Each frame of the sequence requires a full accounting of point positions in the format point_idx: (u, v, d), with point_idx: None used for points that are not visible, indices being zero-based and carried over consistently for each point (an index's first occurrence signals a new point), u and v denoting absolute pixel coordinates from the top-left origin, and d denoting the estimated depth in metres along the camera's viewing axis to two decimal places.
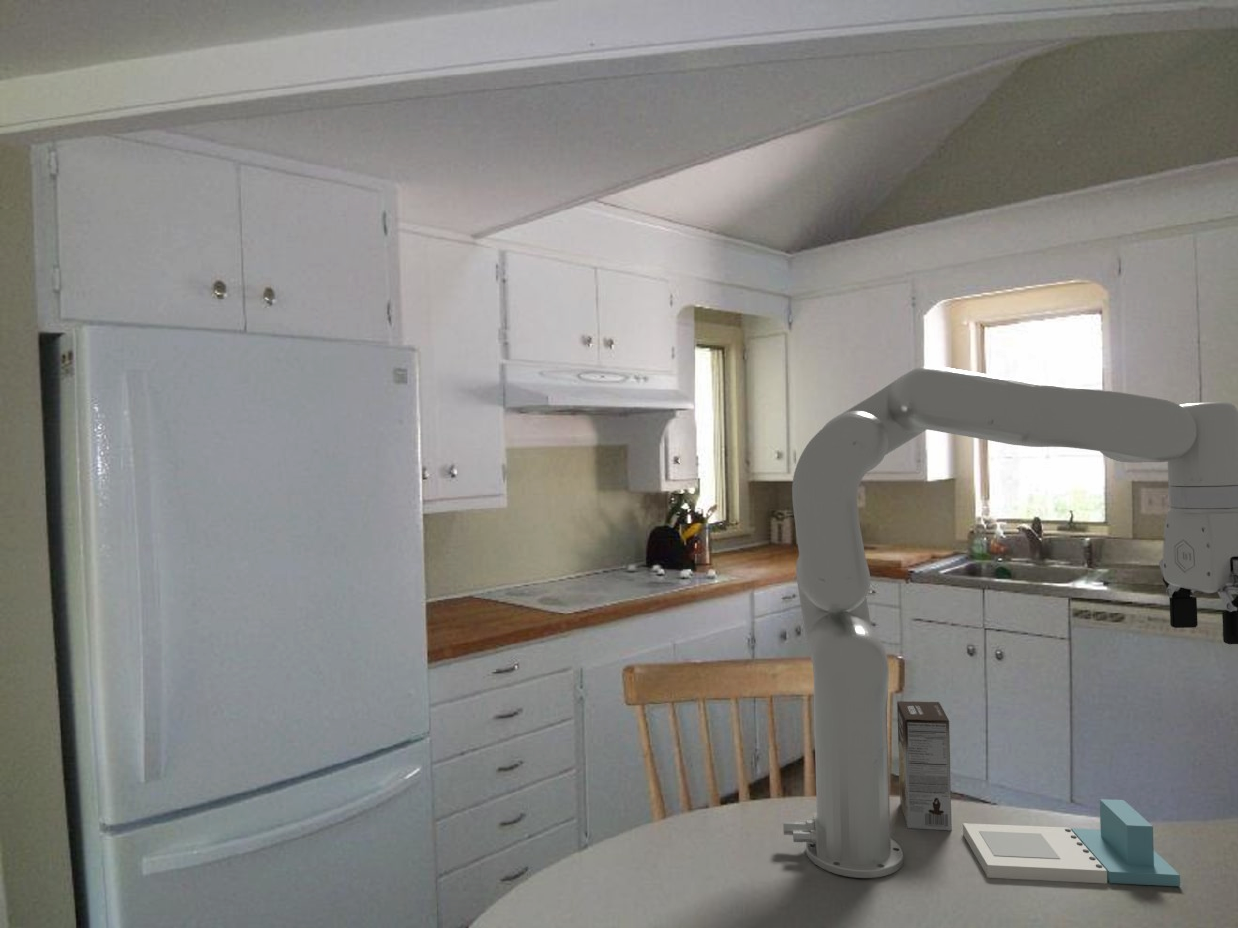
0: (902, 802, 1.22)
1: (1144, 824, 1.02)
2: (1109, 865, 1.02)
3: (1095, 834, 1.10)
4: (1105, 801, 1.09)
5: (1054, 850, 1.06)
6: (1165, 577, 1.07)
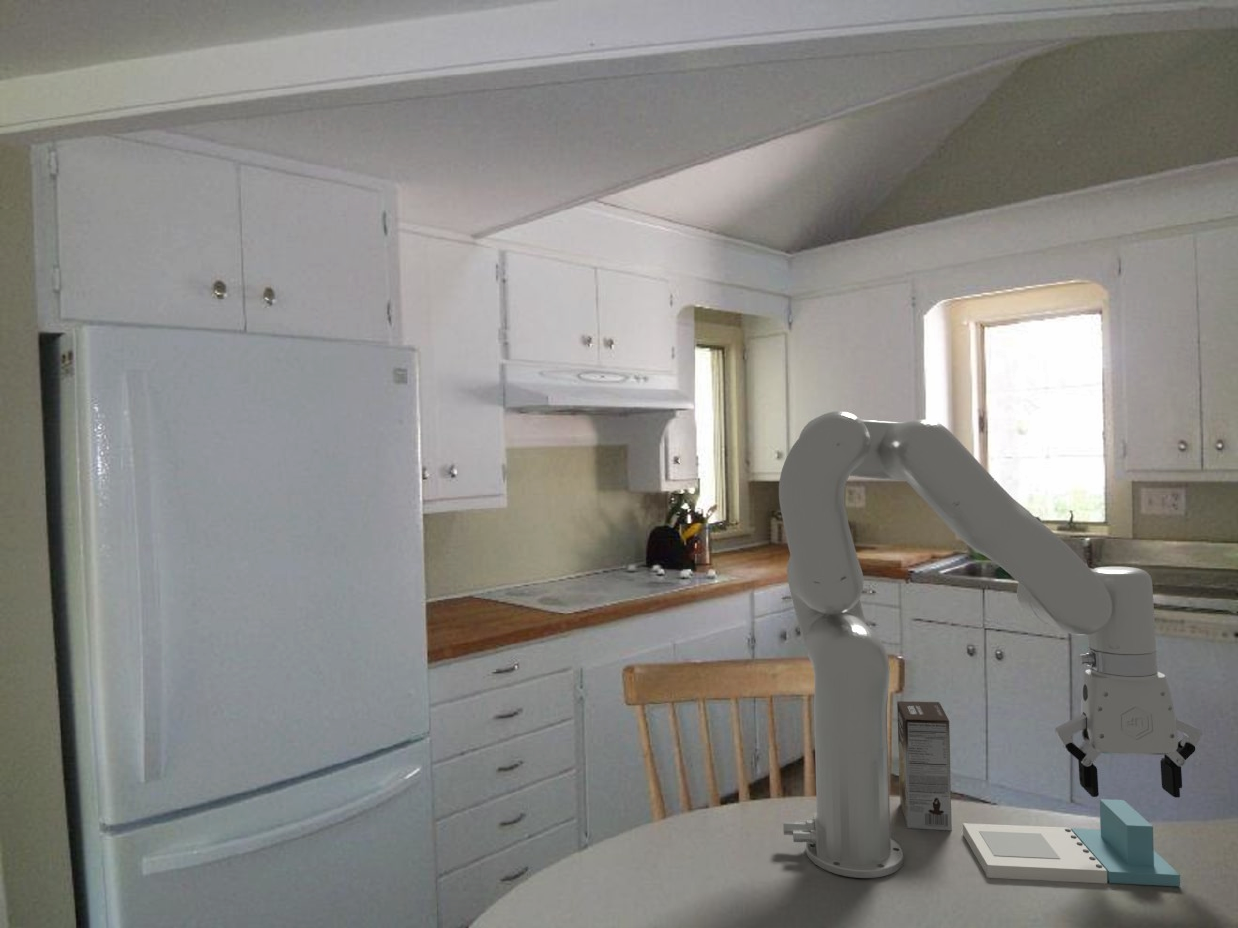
0: (902, 802, 1.22)
1: (1144, 824, 1.02)
2: (1109, 865, 1.02)
3: (1095, 834, 1.10)
4: (1105, 801, 1.09)
5: (1054, 850, 1.06)
6: (1103, 748, 1.04)
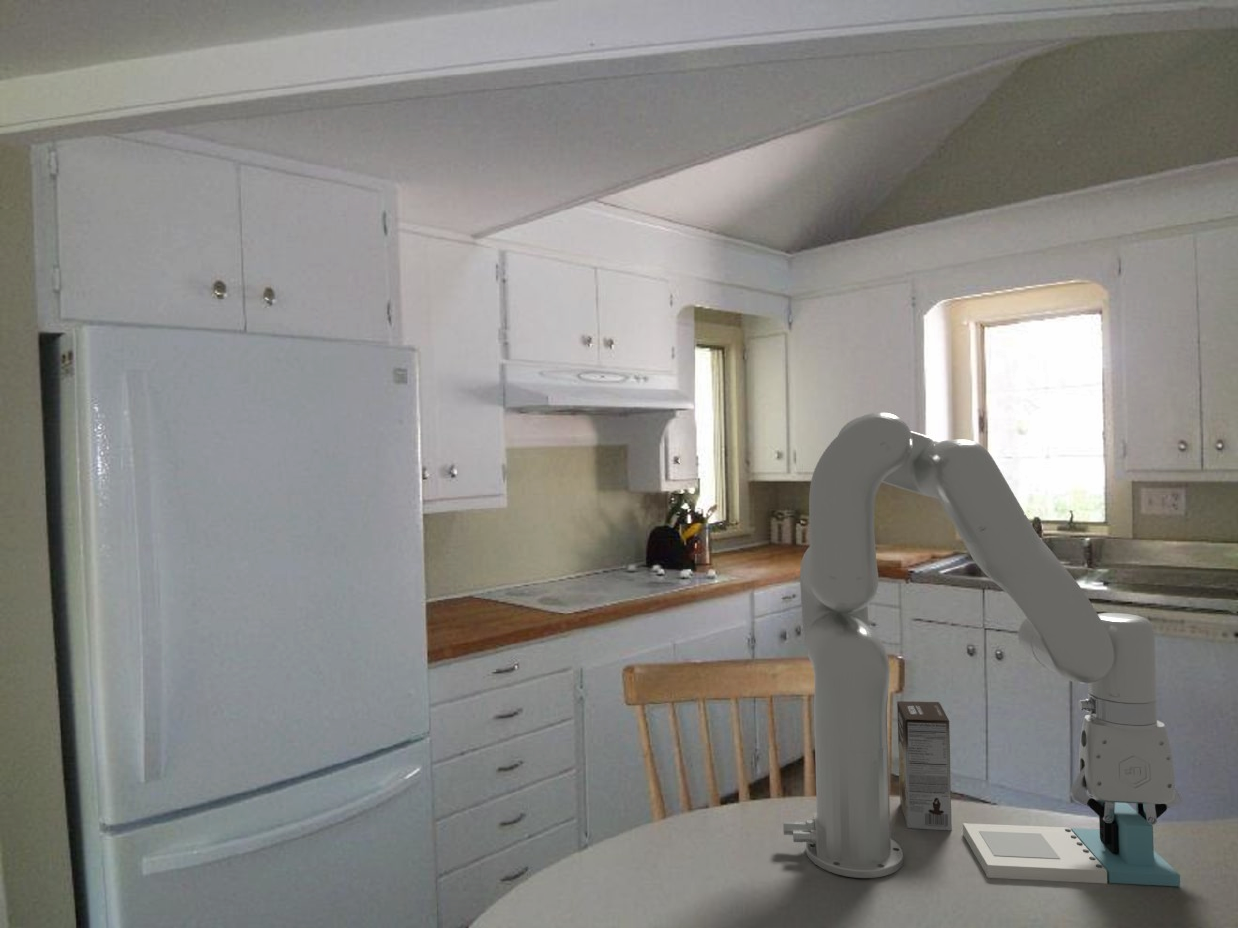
0: (902, 802, 1.22)
1: (1144, 824, 1.02)
2: (1109, 865, 1.02)
3: (1095, 834, 1.10)
4: None
5: (1054, 850, 1.06)
6: (1100, 795, 1.04)
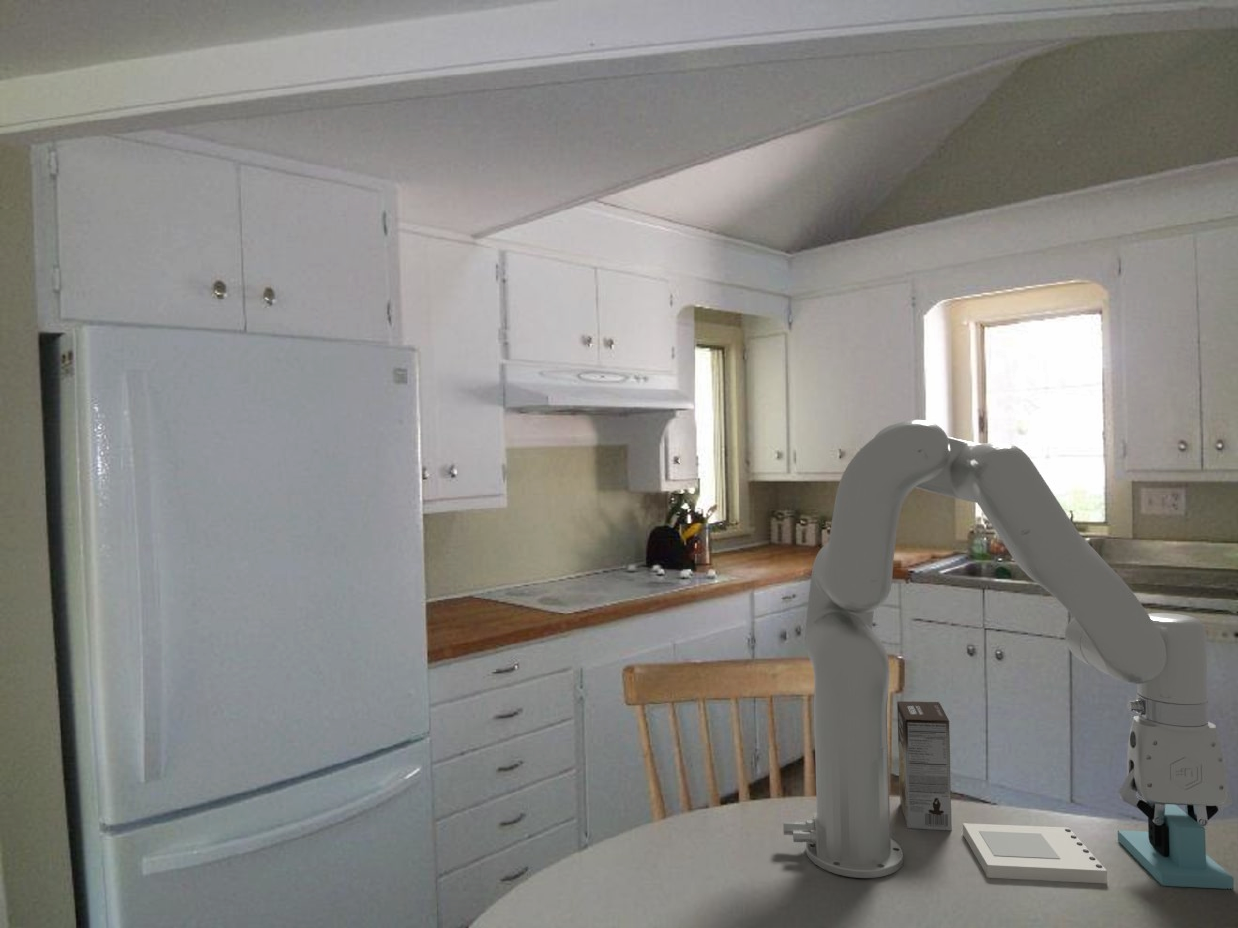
0: (902, 802, 1.22)
1: (1196, 826, 1.01)
2: (1160, 867, 1.01)
3: (1143, 836, 1.09)
4: None
5: (1054, 850, 1.06)
6: (1151, 797, 1.03)
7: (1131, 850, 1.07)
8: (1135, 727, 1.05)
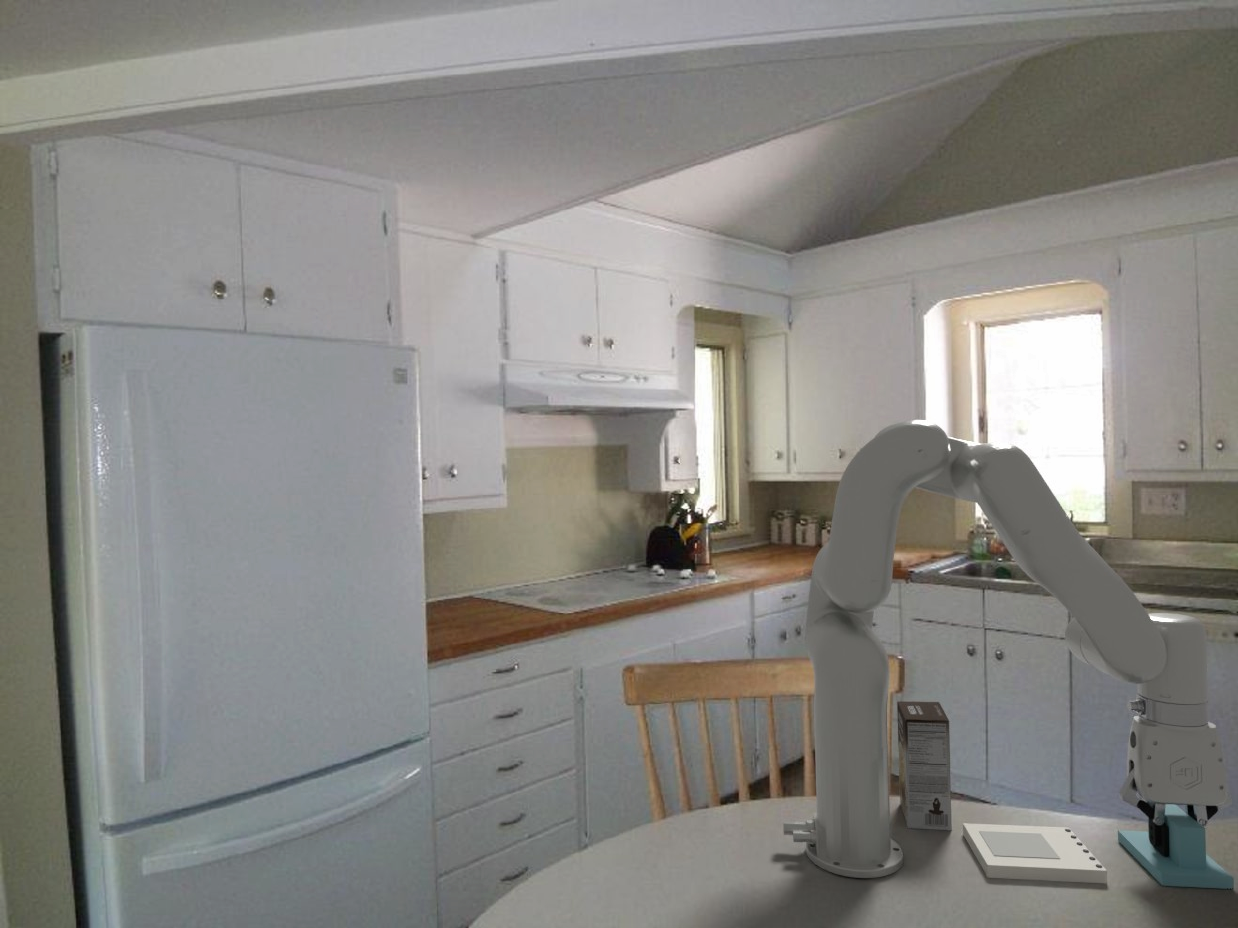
0: (902, 802, 1.22)
1: (1196, 826, 1.01)
2: (1160, 867, 1.01)
3: (1143, 836, 1.09)
4: None
5: (1054, 850, 1.06)
6: (1151, 797, 1.03)
7: (1132, 850, 1.07)
8: (1135, 727, 1.05)
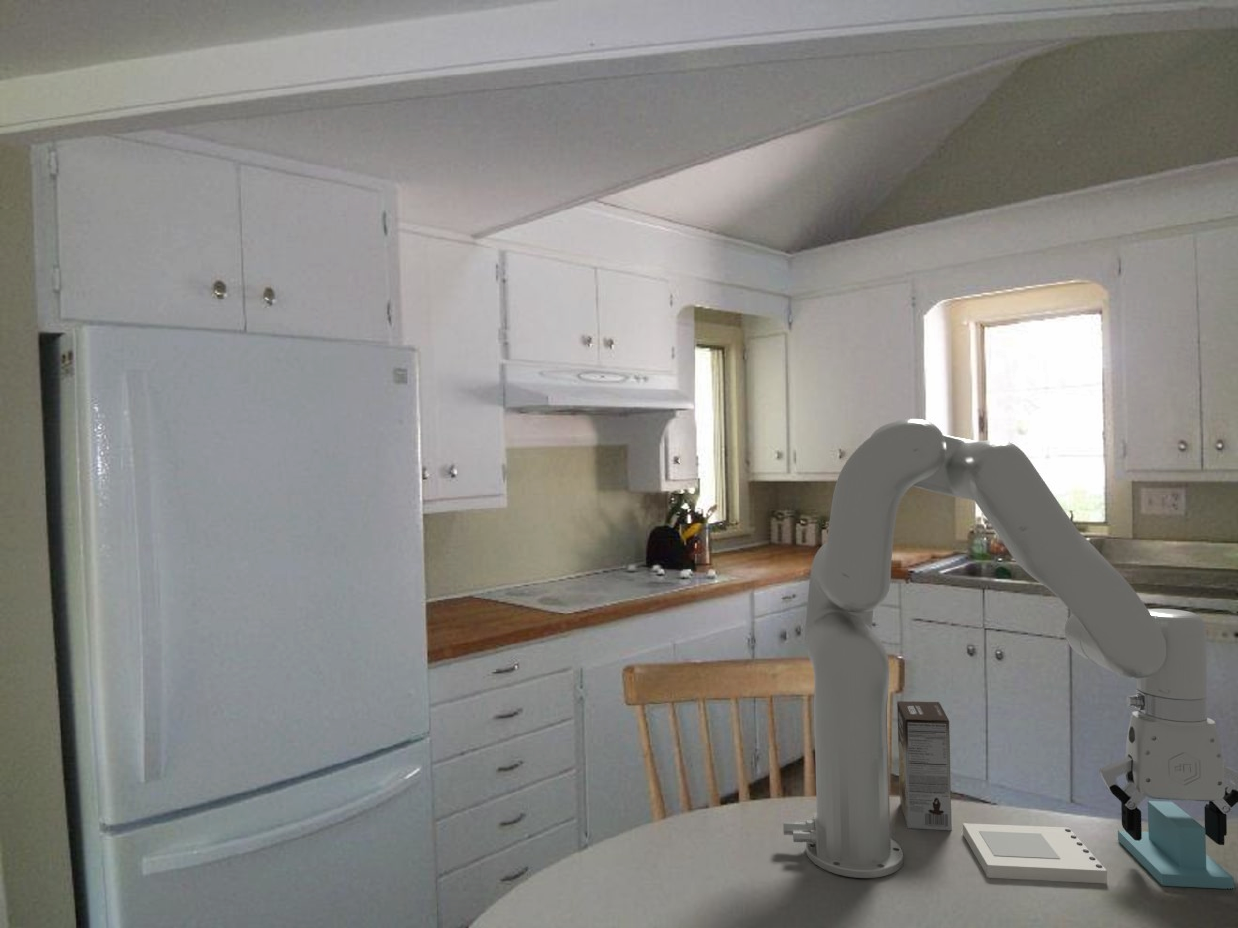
0: (902, 802, 1.22)
1: (1196, 826, 1.01)
2: (1160, 867, 1.01)
3: (1143, 836, 1.09)
4: (1153, 803, 1.08)
5: (1054, 850, 1.06)
6: (1149, 792, 1.03)
7: (1132, 850, 1.07)
8: (1134, 722, 1.05)
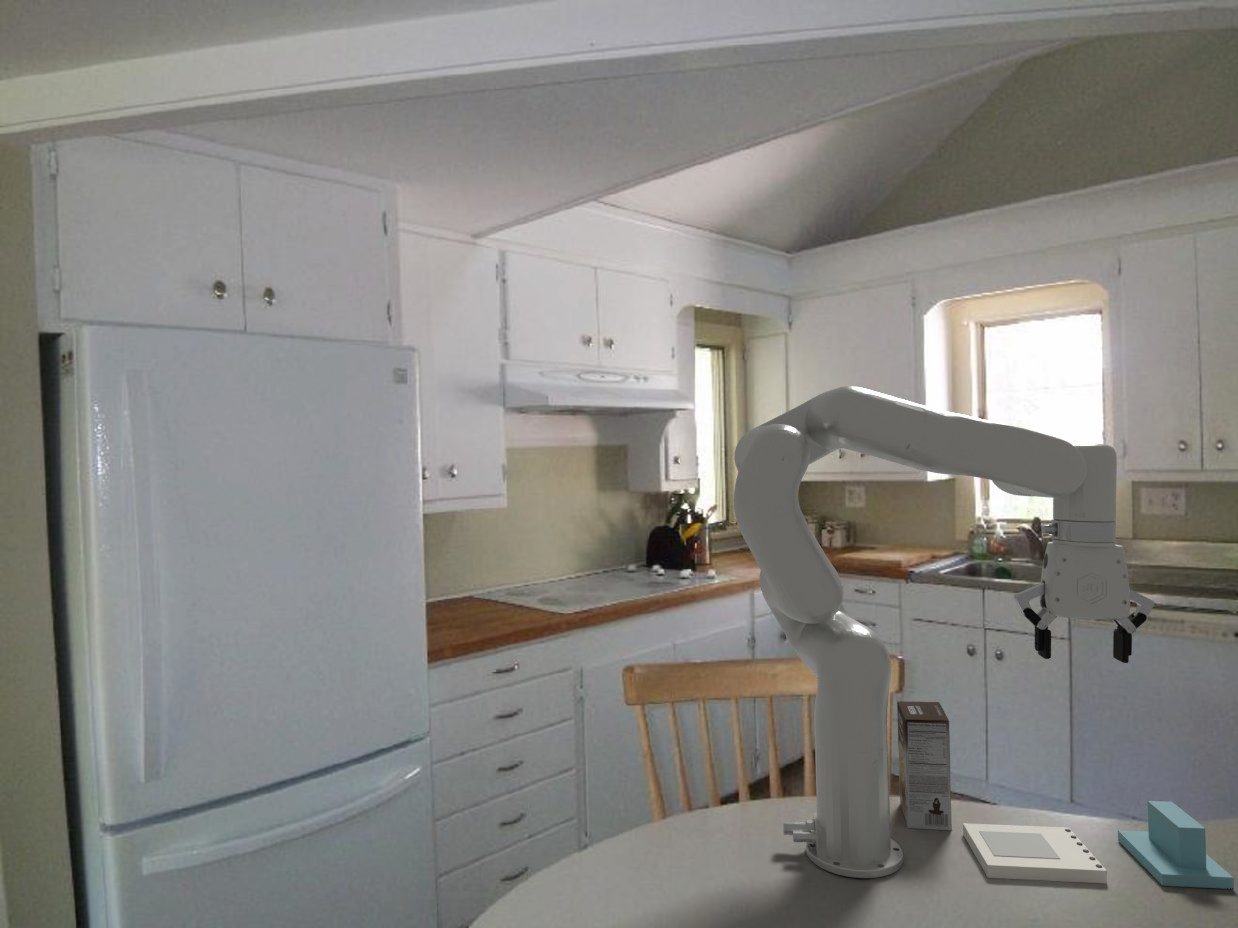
0: (902, 802, 1.22)
1: (1196, 826, 1.01)
2: (1160, 867, 1.01)
3: (1143, 836, 1.09)
4: (1153, 803, 1.08)
5: (1054, 850, 1.06)
6: (1058, 611, 1.09)
7: (1132, 850, 1.07)
8: (1048, 549, 1.11)
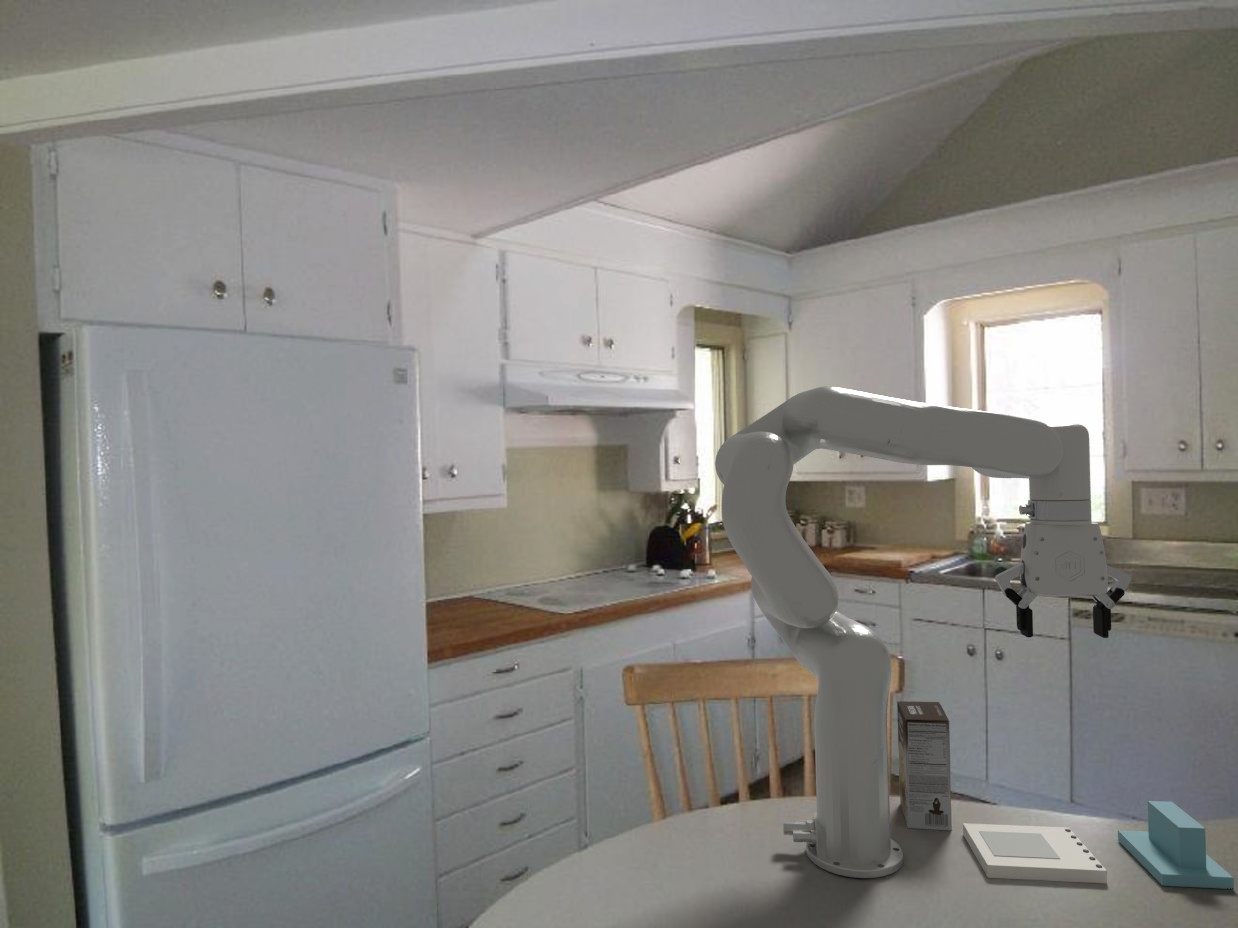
0: (902, 802, 1.22)
1: (1196, 826, 1.01)
2: (1160, 867, 1.01)
3: (1143, 836, 1.09)
4: (1153, 803, 1.08)
5: (1054, 850, 1.06)
6: (1038, 589, 1.10)
7: (1132, 850, 1.07)
8: (1026, 529, 1.13)
